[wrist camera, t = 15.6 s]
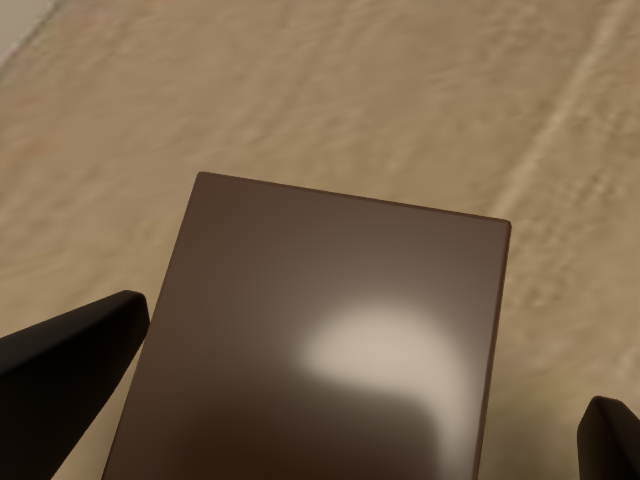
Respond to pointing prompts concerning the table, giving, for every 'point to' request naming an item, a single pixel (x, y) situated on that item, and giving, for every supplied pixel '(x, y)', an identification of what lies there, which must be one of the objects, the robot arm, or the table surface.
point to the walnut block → (316, 340)
